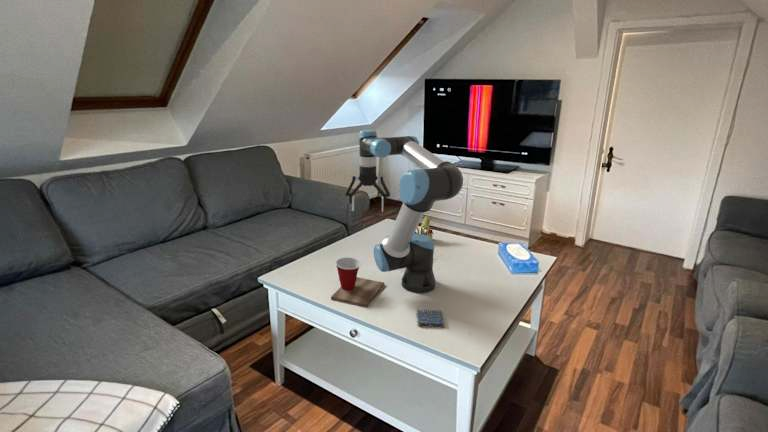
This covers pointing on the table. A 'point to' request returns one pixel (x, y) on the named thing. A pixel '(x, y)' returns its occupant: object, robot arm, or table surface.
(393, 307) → the table surface
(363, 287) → the walnut board
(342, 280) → the plastic cup
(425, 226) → the chocolate bunny
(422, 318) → the woven mat
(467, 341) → the table surface
